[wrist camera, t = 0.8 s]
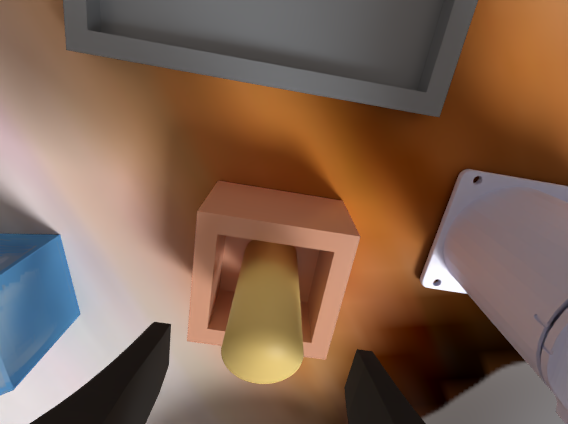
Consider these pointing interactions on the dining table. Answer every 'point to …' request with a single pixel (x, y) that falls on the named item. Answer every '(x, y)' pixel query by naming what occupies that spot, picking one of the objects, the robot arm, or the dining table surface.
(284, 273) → the dowel
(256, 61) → the tray
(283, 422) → the dining table surface
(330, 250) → the peach hollow square block
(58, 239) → the perfume bottle
